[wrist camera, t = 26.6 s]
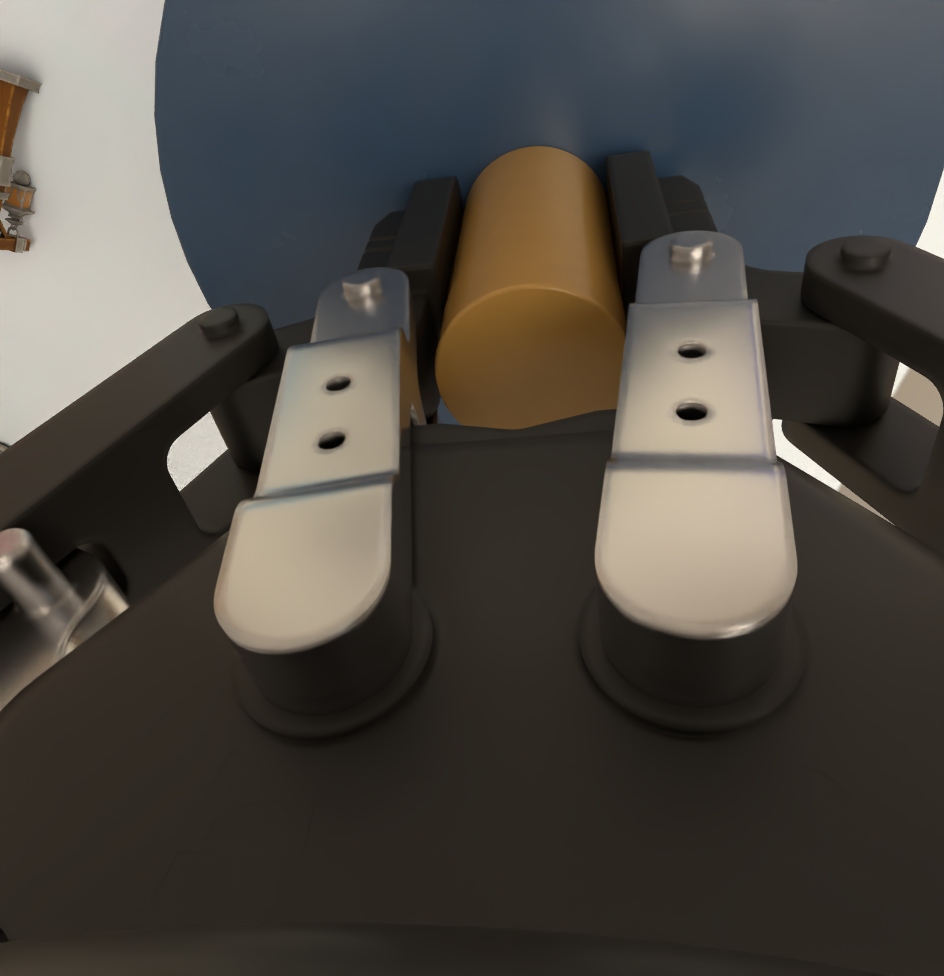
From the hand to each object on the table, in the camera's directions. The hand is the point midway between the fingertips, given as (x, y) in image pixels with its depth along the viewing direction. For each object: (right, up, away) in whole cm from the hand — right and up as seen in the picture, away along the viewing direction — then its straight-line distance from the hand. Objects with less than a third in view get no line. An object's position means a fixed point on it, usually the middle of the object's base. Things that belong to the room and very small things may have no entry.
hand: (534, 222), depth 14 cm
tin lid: (0, 0, +1) cm, 1 cm away
